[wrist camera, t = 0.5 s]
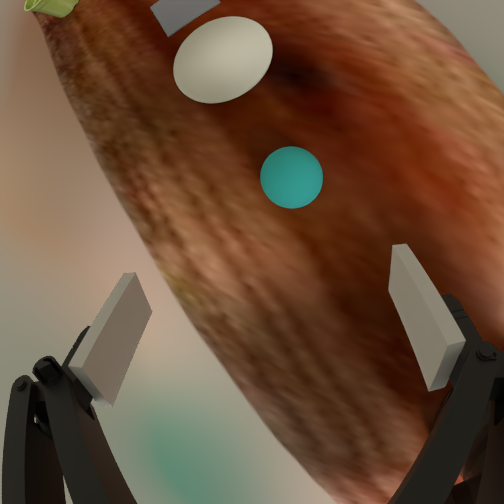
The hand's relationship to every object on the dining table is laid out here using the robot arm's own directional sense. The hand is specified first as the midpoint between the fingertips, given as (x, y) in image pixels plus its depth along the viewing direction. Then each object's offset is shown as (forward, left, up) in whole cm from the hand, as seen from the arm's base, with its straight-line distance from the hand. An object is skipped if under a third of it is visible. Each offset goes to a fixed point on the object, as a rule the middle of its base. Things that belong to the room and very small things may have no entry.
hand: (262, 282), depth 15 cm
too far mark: (+35, -3, -15) cm, 39 cm away
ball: (+6, -3, -13) cm, 14 cm away
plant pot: (+60, +14, -16) cm, 64 cm away
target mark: (+23, -3, -15) cm, 28 cm away
